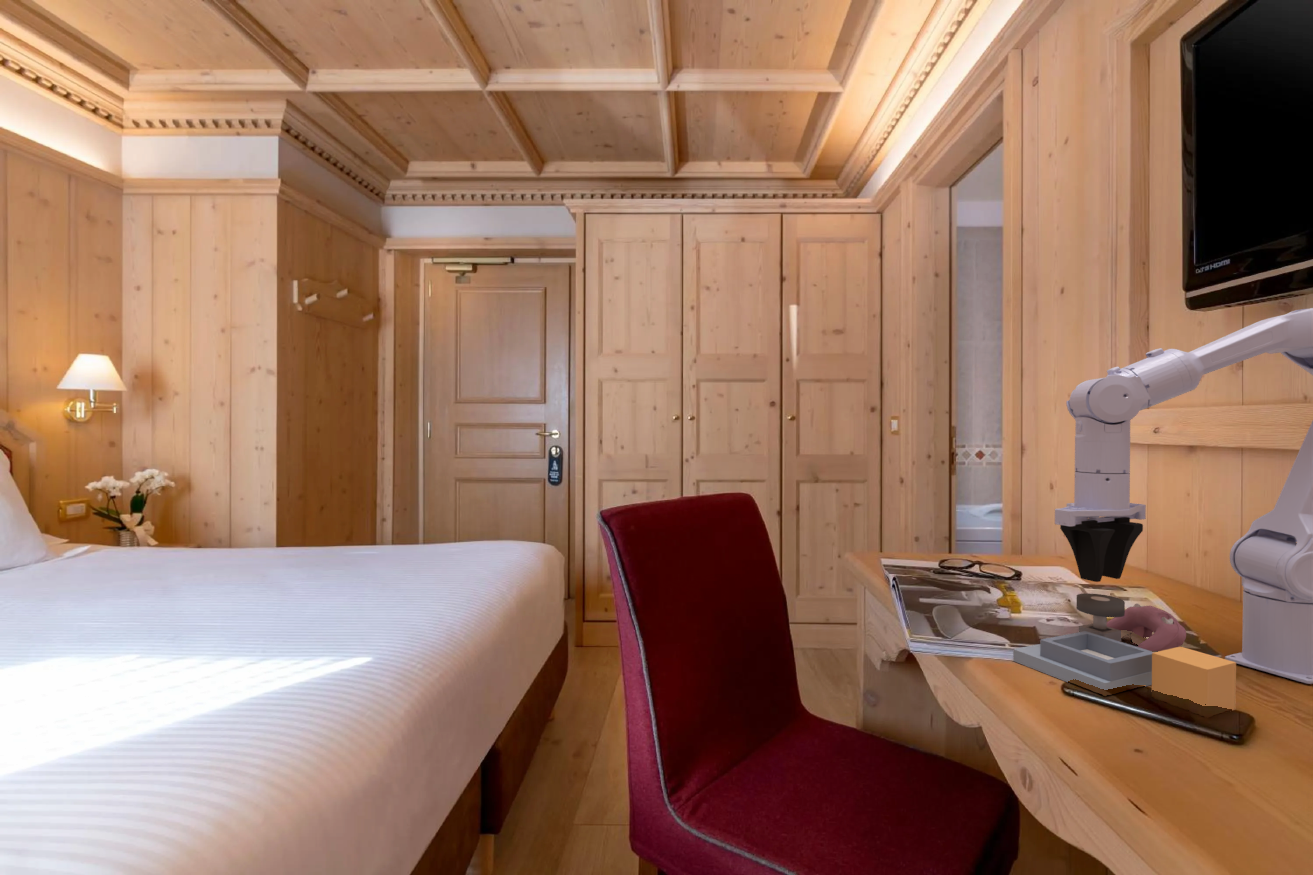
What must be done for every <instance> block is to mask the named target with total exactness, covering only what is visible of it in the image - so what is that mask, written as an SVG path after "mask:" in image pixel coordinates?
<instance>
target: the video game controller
mask: <svg viewBox="0 0 1313 875" xmlns="http://www.w3.org/2000/svg"><path fill="white" fill-rule="evenodd" d="M1107 627H1111V628H1114V629H1117V630H1127V631H1132V632H1134V633H1135V634H1137V635H1139V636H1141V637H1143V638H1144V637H1145V638H1146V637H1149V638H1148V639H1146V640H1145V641H1143V642H1142V643H1140V644H1139V645H1138V646H1137V645H1136V647H1139V648H1142V649H1146V650H1149V651H1163V650H1167V649H1172V648H1176V647H1182V645H1183V644H1184V643H1185V640H1186V638H1187V632H1186V628H1185V627H1184V626H1183V625H1181V624H1180V622H1179V621H1178V619H1177V618H1175V616H1174V615H1172V614H1171V613H1169V612H1167V611H1166V610H1164V609H1161V608H1158V607H1156V606H1153V605H1140V604H1139V603H1137V602H1136V603H1134V605H1133V606H1128V607H1127V608H1126V609H1125V615H1124V616H1123V617H1112V619H1110V620H1107Z"/></svg>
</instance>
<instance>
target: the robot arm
mask: <svg viewBox="0 0 1313 875" xmlns="http://www.w3.org/2000/svg"><path fill="white" fill-rule="evenodd" d="M1265 353H1266V354H1270V355H1271V354H1279V353H1281V355H1282V356H1284V357H1285V358H1287V359H1288V360H1289V361H1291V362H1292V363H1294V364H1295V365H1297V366H1299V367H1300V368H1301V369H1302V370H1304V371H1306V372H1307V373H1309V374H1310V375H1311V376H1313V307H1310V308H1302V309H1295V310H1291V311H1290V312H1288V313H1286V314H1282V315H1277V316H1272V317H1268V318H1265V319H1262V320H1258V321H1257V322H1254V323H1252V324H1249V325H1247V326H1245V327H1243V328H1241V329H1238V330H1236V331H1234V332H1231V333H1229V334H1227V335H1224V336H1223V337H1222V336H1221V337H1220V338H1217V339H1216V340H1213V341H1211V342H1208V343H1207V344H1204V345H1202V346H1199V347H1197V348H1196V349H1193V350H1191V351H1183V350H1181V349H1178V348H1177V349H1176V348H1167V349H1165V350H1164V349H1163V348H1162V347H1160V348H1156V349H1152V350H1150V351H1148V352H1146V353H1145V355H1146V358H1143V359H1141V360H1138V361H1136V362H1134V363H1131V364H1128V365H1126V366H1123V367H1121V368H1120V367H1119V366H1115V367H1114V366H1113V367H1111V368H1109V369H1107V370H1106V372H1107V375H1106V377H1099V378H1093V379H1087V380H1085V381H1082V382H1081V383H1079V384H1077V385H1076V386H1075V389H1073V390H1072V391H1071V393H1070V396H1069V399H1068V400H1066V403H1065V404H1066V408H1067V412H1068V413H1069V414H1070V416H1072V418H1073V419H1074V422H1075V431H1074V432H1075V433H1074V434H1075V436H1074V493H1073V494H1074V497H1073V499H1074V502H1069V503H1066V506H1065V507H1060V508H1055V509H1054V524H1055V525H1058V526H1059V525H1060V530H1061V532H1062V533H1063V534H1064V536H1065V538H1066V540H1067V542H1068V544H1069V545H1070V547H1071V550H1072V553H1073V555H1074V559H1075V563H1076V566H1077V569H1078V573H1079V576H1080V579H1082V580H1086V581H1091V582H1094V583H1095V582H1096V583H1099V582H1101V580H1102V577H1105V578H1106V577H1107V578H1111V579H1115V580H1119V579H1120V580H1121V577H1122V575H1123V571H1124V569H1125V565H1126V563H1127V559H1128V556H1129V553H1130V551H1131V549H1132V547H1133V545H1134V543H1135V541H1136V540H1137V539H1138V537H1139V536H1140V534H1142V533H1143V530H1144V525H1143V523H1140V522H1132V521H1131V520H1146V514H1147V513H1146V512H1147V508H1146V507H1147V506H1146V504H1143V503H1136V502H1134V503H1132V502H1130V501H1131V499H1130V498H1131V496H1130V495H1131V493H1130V490H1131V487H1130V486H1131V485H1130V484H1131V420H1133V419H1134V418H1135V417H1136V416H1137V415H1138V414H1139V413H1140V411H1143V410H1146V409H1148V408H1151V407H1153V406H1157V405H1158V404H1161V403H1163V402H1167V401H1169V400H1171V399H1173V398H1176V397H1177V398H1178V397H1180V396H1182V395H1185V394H1187V393H1189V392H1192V391H1194V390H1195V389H1196V388H1198V386H1199V385H1200V382H1201V380H1202V377H1203V376H1204V375H1207V374H1210V373H1213V372H1215V371H1218V370H1220V369H1223V368H1226V367H1228V366H1232V365H1234V364H1238V363H1240V362H1243V361H1246V360H1249V359H1251V358H1255V357H1257V356H1259V355H1262V354H1265ZM1306 432H1307V433H1306V435H1305V437H1304V440H1303V441H1302V444H1301V446H1300V448H1299V451H1298V452H1297V456H1296V457H1295V459H1294V462H1293V464H1292V466H1291V468H1290V470H1289V473H1288V476H1287V477H1286V480H1285V482H1284V484H1283V487H1282V490H1281V491H1280V494H1279V496H1278V498H1277V500H1276V503H1275V505H1274V508H1273V509H1272V510H1270V511H1269V512H1267V513H1265V514H1263V515H1262V516H1259V517H1257V518H1256V519H1254V520H1253V521H1252V522H1251V525H1250V527H1249V529H1248V530H1247V532H1246V533H1245V534H1244V535H1243V536H1241V537H1240V538H1239V539H1237V541H1235V542H1234V544H1233V545H1232V547H1231V548H1230V552H1229V563H1230V565H1231V567H1232V569H1233V570H1234V572H1235V574H1237V575H1238V576H1239V577H1241V586H1242V587H1243V590H1242V634H1241V635H1242V640H1241V641H1242V646H1241V648H1242V650H1241V652H1238V653H1233V654H1229V655H1226V656H1224V659H1226V660H1229V661H1233V662H1236V665H1237V664H1238V665H1241V666H1244V667H1248V668H1252V669H1254V670H1255V669H1256V670H1258V671H1262V672H1266V673H1269V674H1272V675H1275V676H1279V677H1283V678H1287V679H1290V680H1293V681H1296V682H1301V683H1303V684H1308V685H1309V684H1310V685H1312V684H1313V420H1312V421H1311V423H1310V425H1309V428H1308V430H1307V431H1306Z"/></svg>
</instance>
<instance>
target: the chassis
mask: <svg viewBox="0 0 1313 875" xmlns="http://www.w3.org/2000/svg"><path fill="white" fill-rule="evenodd" d="M1039 640H1040V641H1039V644H1038V643H1037V644H1032V645H1028V646H1022V647H1017V648H1013V650H1012V652H1013V653H1012V654H1013V655H1012V656H1013V657H1012V660H1013V662H1015V663H1017V664H1021V665H1022V666H1024V667H1027V668H1030V669H1033V670H1036V671H1038V672H1041V673H1043V674H1046V675H1048V676H1051V677H1054V678H1055V679H1059V680H1060V681H1063V682H1066V683H1068V681H1070V680H1073V679H1074V680H1075V679H1076V680H1079V681H1081V682H1084V683H1086V684H1089V685H1093V686H1095V687H1098V688H1100V689H1104V690H1108V689H1113V688H1117V687H1122V686H1126V685H1132V684H1134V685H1146V686H1145V687H1149V686H1152V653H1154V652H1152V651H1149V650H1146V649H1142V648H1139V647H1137V645H1134V644H1133V645H1132V644H1130V643H1126V642H1122V638H1121V630H1117V629H1114V628H1111V627H1107V629H1097V628H1094V627H1093V623H1089V624H1084V625H1079V626H1078V632H1073V633H1067V634H1062V635H1058V636H1051V637H1047V638H1043V639H1039Z"/></svg>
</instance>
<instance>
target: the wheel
mask: <svg viewBox="0 0 1313 875" xmlns="http://www.w3.org/2000/svg"><path fill="white" fill-rule="evenodd" d="M1125 603H1126V601H1125V600H1123V599H1121V598H1119V597H1115V596H1112V595H1108V594H1107V595H1106V594H1098V593H1087V592H1086V593H1079V594H1077V595H1076V610H1077V611H1079V612H1082V613H1084V614H1087V615H1091V616H1093V617H1092V619H1093V622H1092V624H1093V627H1094V628H1097V629H1107V622H1108V620H1107V619H1108V618H1115V617H1123V616H1124V615H1125V610H1126V609H1125V608H1126V606H1125Z"/></svg>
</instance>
